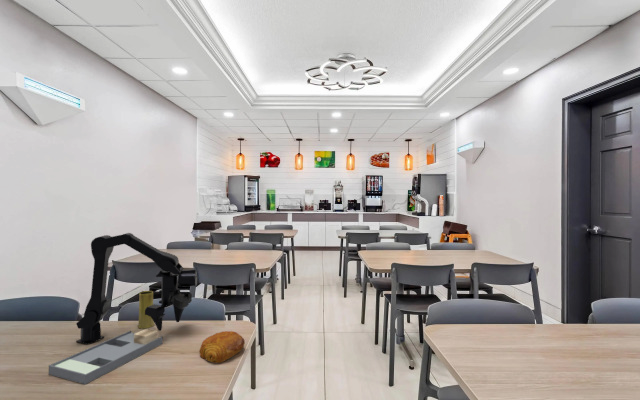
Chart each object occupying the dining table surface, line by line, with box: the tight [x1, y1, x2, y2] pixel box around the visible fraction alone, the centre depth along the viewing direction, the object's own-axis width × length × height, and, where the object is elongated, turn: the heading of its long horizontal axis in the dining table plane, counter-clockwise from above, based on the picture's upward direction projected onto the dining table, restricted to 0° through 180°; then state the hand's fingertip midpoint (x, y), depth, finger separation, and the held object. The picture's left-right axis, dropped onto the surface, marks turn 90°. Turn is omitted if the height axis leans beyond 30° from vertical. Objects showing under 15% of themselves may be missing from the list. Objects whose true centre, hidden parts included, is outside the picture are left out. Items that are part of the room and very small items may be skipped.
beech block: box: [134, 328, 159, 345], centre depth 119 cm, size 6×6×3 cm
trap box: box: [48, 330, 163, 385], centre depth 111 cm, size 16×28×3 cm, turn 161°
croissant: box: [198, 330, 245, 364], centre depth 115 cm, size 14×16×8 cm
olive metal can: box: [137, 290, 155, 330], centre depth 138 cm, size 6×6×14 cm
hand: (169, 326), depth 130 cm, fingers open, 9 cm apart
